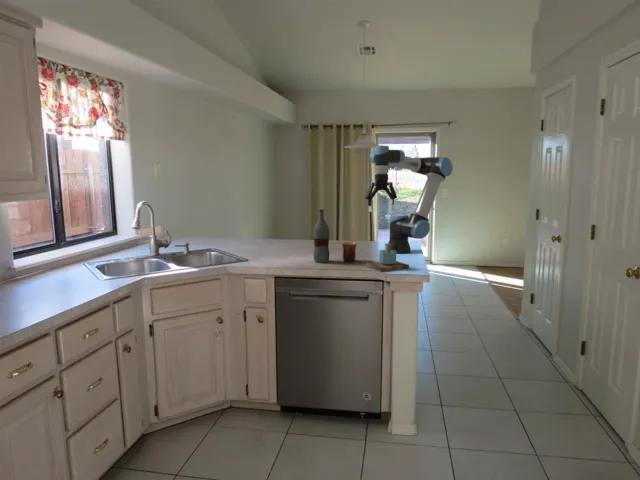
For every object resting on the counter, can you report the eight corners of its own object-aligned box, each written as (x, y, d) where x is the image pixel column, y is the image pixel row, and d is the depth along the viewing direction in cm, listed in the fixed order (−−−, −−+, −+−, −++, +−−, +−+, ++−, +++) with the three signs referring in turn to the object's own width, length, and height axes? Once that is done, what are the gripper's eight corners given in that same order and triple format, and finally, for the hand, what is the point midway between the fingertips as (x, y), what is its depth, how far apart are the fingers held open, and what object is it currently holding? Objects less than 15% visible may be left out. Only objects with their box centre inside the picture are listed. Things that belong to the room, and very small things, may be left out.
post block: (393, 263, 255) (394, 240, 252) (409, 268, 242) (409, 244, 240) (366, 266, 247) (366, 243, 245) (380, 272, 234) (381, 247, 232)
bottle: (326, 263, 254) (326, 210, 250) (311, 262, 258) (310, 210, 253) (331, 260, 263) (331, 209, 258) (316, 259, 266) (316, 208, 261)
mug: (342, 259, 267) (342, 242, 265) (357, 259, 265) (357, 242, 263) (339, 263, 255) (339, 245, 254) (355, 264, 253) (355, 246, 252)
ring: (389, 260, 250) (389, 249, 249) (398, 262, 242) (399, 251, 241) (376, 261, 246) (376, 250, 245) (385, 264, 238) (385, 253, 237)
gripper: (396, 173, 264) (395, 209, 268) (359, 173, 253) (358, 211, 257) (403, 173, 258) (402, 210, 261) (366, 173, 247) (365, 212, 250)
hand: (380, 211), depth 259 cm, fingers open, 13 cm apart
